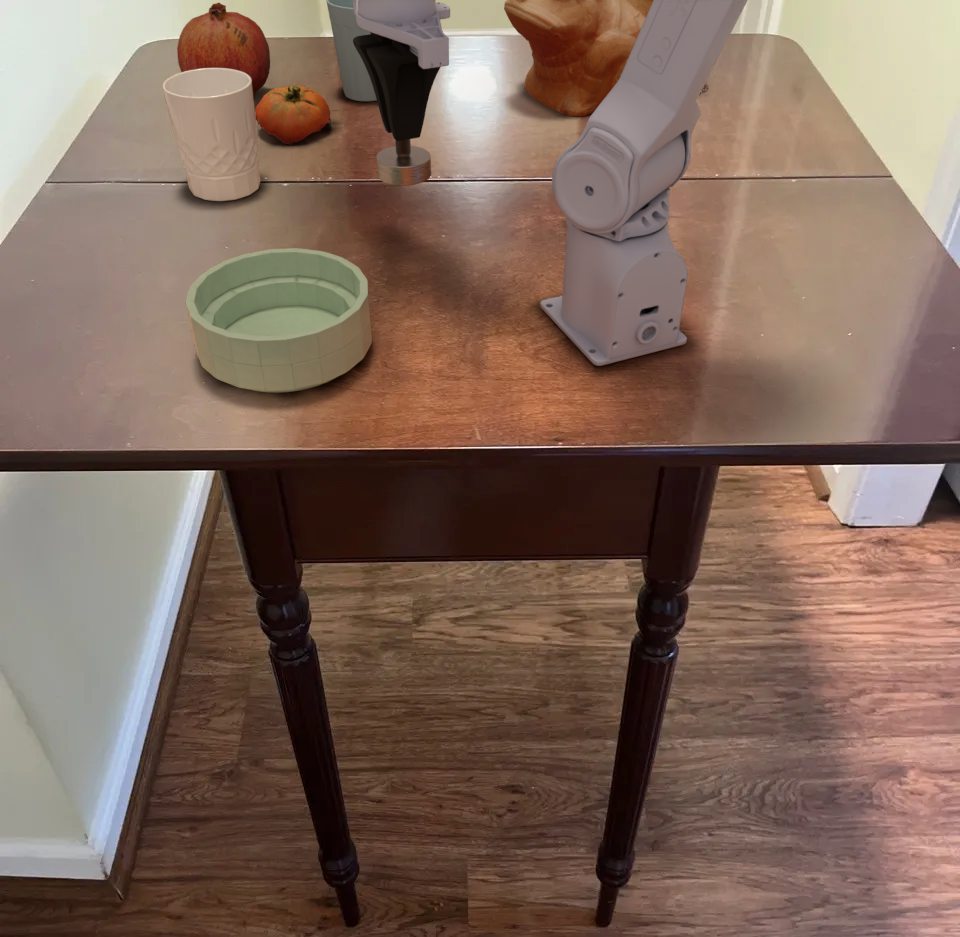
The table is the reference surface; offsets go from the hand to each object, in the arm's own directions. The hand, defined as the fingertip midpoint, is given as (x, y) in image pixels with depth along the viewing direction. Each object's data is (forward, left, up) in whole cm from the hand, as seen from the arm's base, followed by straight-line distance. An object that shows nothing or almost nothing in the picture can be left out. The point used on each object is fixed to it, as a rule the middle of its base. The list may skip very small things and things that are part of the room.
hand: (402, 134), depth 77 cm
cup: (+38, -9, -11) cm, 41 cm away
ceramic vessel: (+28, -35, -11) cm, 46 cm away
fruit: (+43, +6, -11) cm, 45 cm away
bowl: (-11, +14, -10) cm, 20 cm away
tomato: (+30, +2, -11) cm, 32 cm away
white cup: (+19, +12, -11) cm, 25 cm away
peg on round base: (0, 0, -3) cm, 3 cm away
